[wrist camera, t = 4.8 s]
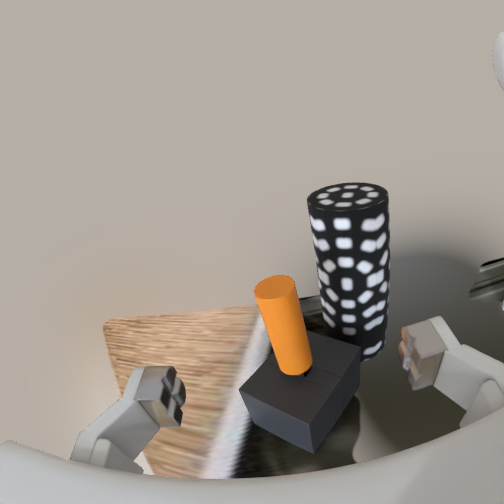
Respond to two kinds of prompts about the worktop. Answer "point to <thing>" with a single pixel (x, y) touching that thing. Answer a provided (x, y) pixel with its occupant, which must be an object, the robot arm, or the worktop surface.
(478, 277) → the worktop surface
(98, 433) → the robot arm
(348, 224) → the spotted tube
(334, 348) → the holder
